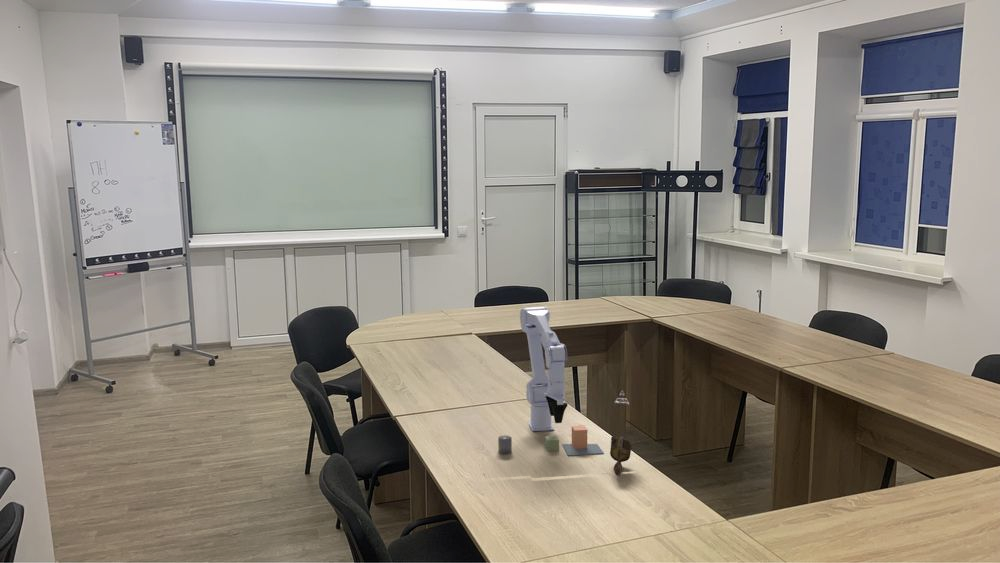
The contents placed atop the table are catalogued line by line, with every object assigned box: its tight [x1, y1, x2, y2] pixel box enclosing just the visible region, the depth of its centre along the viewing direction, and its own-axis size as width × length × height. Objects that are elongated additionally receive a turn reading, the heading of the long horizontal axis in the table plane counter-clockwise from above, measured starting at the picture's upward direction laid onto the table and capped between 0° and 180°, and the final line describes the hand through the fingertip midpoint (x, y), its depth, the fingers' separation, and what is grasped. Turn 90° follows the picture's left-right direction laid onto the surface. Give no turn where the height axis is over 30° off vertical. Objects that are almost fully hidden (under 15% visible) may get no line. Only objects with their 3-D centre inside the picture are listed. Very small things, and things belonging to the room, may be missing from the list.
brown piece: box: [609, 436, 633, 477], centre depth 229 cm, size 7×13×10 cm, turn 2°
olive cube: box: [544, 435, 560, 452], centre depth 247 cm, size 4×4×4 cm
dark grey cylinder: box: [498, 434, 513, 455], centre depth 245 cm, size 4×4×5 cm
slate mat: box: [561, 443, 605, 457], centre depth 249 cm, size 14×12×1 cm
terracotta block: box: [571, 424, 588, 449], centre depth 248 cm, size 4×4×6 cm
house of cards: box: [614, 390, 630, 405], centre depth 291 cm, size 9×9×8 cm
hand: (555, 419), depth 250 cm, fingers open, 7 cm apart
